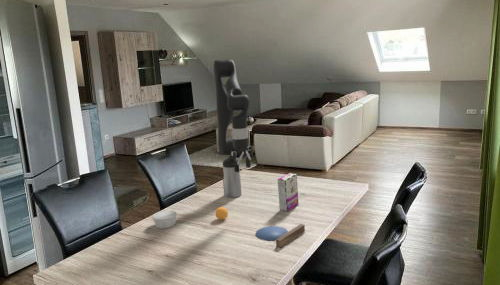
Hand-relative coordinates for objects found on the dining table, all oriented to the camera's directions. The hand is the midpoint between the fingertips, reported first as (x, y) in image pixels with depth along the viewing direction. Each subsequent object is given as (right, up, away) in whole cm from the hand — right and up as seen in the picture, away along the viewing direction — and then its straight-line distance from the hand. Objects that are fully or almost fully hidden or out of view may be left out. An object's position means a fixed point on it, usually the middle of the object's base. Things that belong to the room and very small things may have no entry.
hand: (242, 169), depth 190 cm
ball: (-10, -21, -2) cm, 23 cm away
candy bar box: (+23, -20, +8) cm, 32 cm away
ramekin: (-37, -26, -3) cm, 45 cm away
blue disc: (+13, -26, -21) cm, 36 cm away
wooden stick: (+21, -27, -27) cm, 43 cm away
